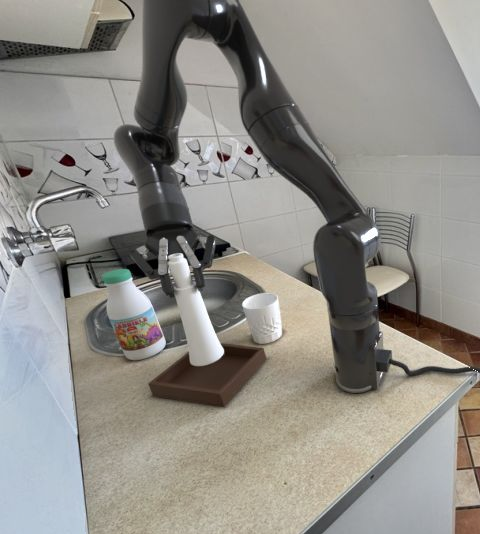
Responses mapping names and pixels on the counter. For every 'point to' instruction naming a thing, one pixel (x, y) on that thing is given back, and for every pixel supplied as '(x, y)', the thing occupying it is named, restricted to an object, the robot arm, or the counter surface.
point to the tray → (209, 376)
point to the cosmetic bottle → (194, 315)
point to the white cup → (263, 317)
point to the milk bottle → (132, 316)
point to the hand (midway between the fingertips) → (186, 292)
